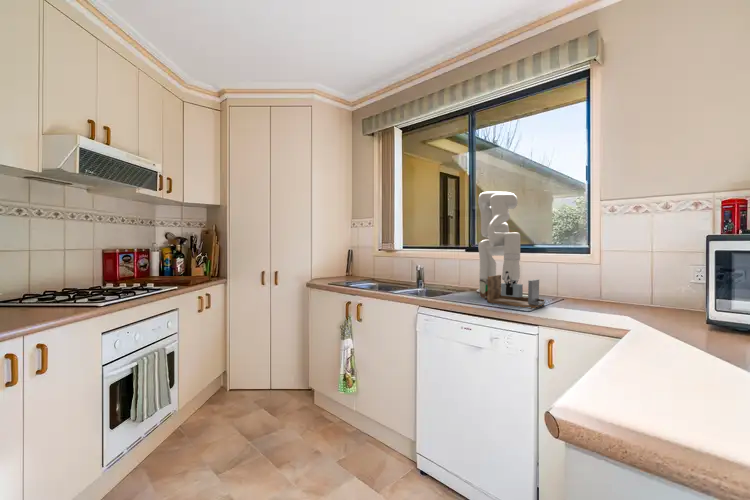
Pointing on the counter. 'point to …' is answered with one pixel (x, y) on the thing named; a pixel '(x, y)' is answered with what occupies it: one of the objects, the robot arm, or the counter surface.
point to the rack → (496, 297)
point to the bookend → (534, 292)
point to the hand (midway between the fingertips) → (511, 294)
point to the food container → (483, 288)
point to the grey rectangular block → (516, 290)
